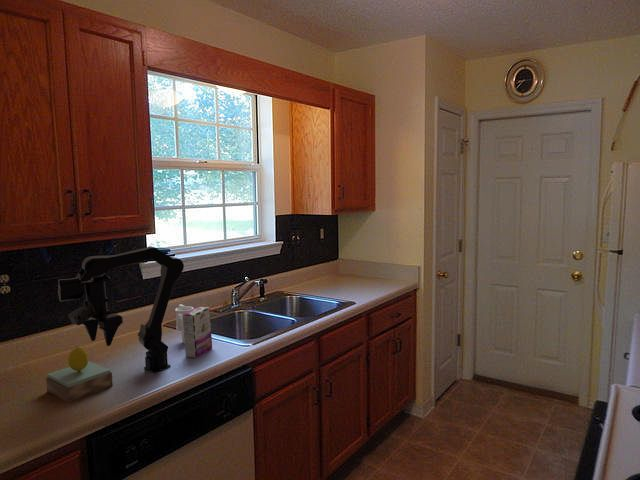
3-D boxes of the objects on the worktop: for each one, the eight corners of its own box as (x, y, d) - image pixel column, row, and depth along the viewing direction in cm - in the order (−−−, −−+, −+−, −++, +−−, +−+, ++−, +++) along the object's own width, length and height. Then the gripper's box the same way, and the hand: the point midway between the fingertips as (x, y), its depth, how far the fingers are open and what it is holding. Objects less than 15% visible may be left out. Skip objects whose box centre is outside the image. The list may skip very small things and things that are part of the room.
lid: (89, 363, 156) (88, 360, 156) (110, 372, 148) (110, 369, 148) (47, 377, 145) (47, 374, 145) (68, 387, 138) (67, 384, 138)
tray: (91, 376, 157) (90, 363, 156) (112, 386, 149) (111, 372, 149) (47, 391, 146) (45, 378, 145) (67, 402, 138) (66, 388, 137)
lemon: (92, 368, 149) (90, 343, 149) (84, 375, 144) (82, 350, 143) (74, 368, 149) (72, 344, 148) (65, 375, 144) (63, 350, 143)
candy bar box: (201, 347, 184) (199, 306, 182) (212, 348, 182) (210, 307, 180) (184, 357, 173) (182, 313, 171) (196, 358, 172) (193, 314, 170)
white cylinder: (189, 338, 195) (187, 302, 193) (198, 341, 190) (196, 305, 188) (173, 342, 190) (171, 305, 188) (182, 346, 185) (180, 309, 183)
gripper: (55, 298, 149) (61, 345, 151) (86, 305, 138) (91, 356, 140) (90, 290, 158) (94, 335, 160) (121, 297, 147) (126, 345, 149)
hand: (100, 343), depth 152 cm, fingers open, 9 cm apart
